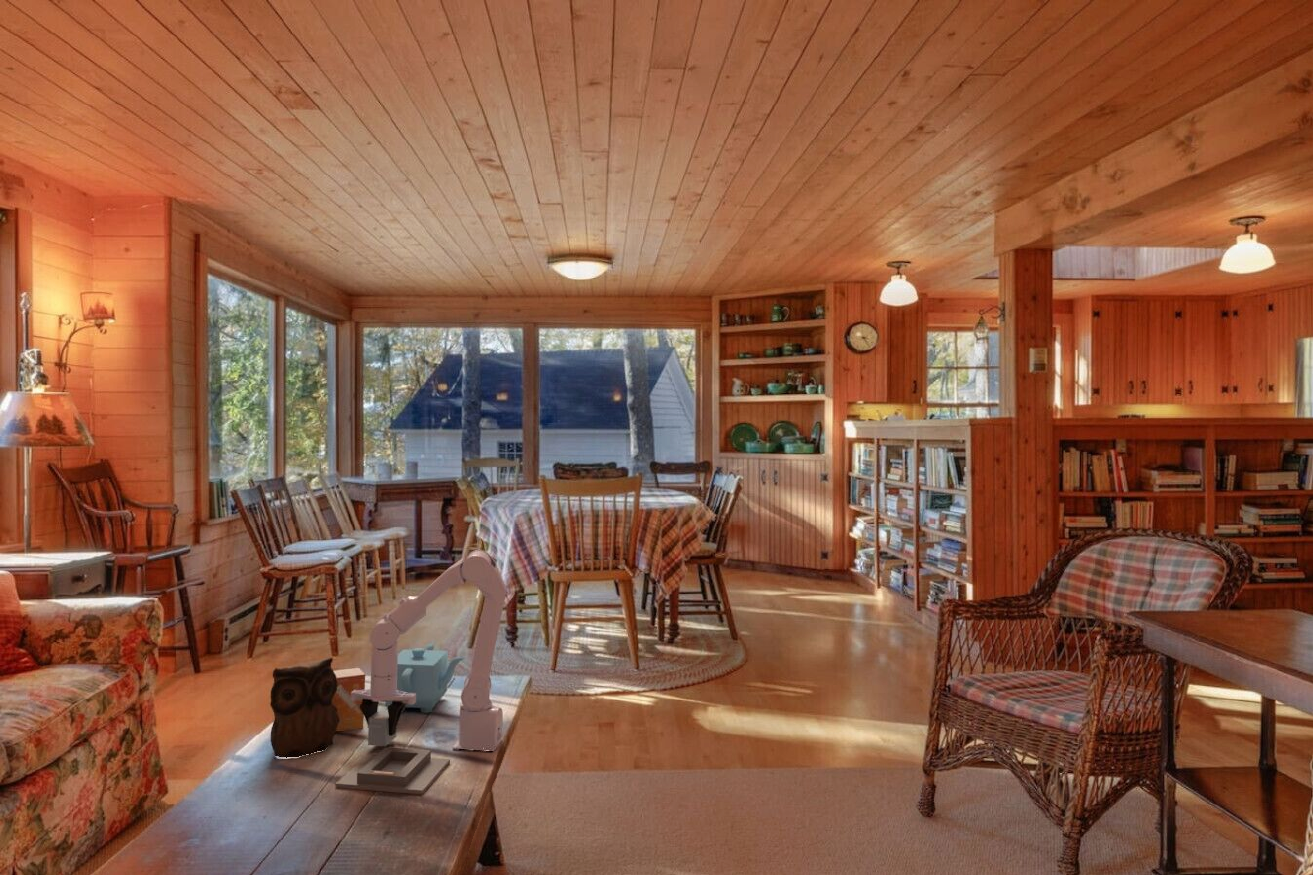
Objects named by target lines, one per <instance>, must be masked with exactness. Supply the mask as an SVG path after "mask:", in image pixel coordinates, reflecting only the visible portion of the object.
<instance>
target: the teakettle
mask: <svg viewBox="0 0 1313 875" xmlns="http://www.w3.org/2000/svg"><path fill="white" fill-rule="evenodd" d="M434 647H435V642H430V643H428V644H427V646H426V648H423V647H415V648H412V649H403V650H401V651H400V652H399V653H398V663H397V690H398V691H403V692H407V693H414V694H416V702H415V703H414V704H413V705H409V704H408V703H406V705H405V707H404V709H403V711H405V710H406V708H416V709H417V708H418V709H420V712H421V713H423V714H424V713H426V714H427V713H431V712H433V708H434V707H435V706H436V704H438V703H440V702H441V699H442V698H443V696H444V695H445V694H446V693H447V691H448V689H447V688H448V685H449V683H450V682H451V681H452V679H453V675H454V673H455V669H456V667H457V665H458V664H459V663H460V662H462V661H463V660H465V659H467V657H465V656H457V657H454V658H452V659H451V661H450V662H449V661H448V660H449V651H448V650H434ZM371 654H372V653H370V656H371ZM448 662H449V664H448ZM384 704H385V705H384V706H385V707H388V706H389V705H391V704H392V702H384Z"/></svg>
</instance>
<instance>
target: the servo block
mask: <svg viewBox="0 0 1313 875" xmlns="http://www.w3.org/2000/svg"><path fill="white" fill-rule="evenodd" d="M368 728H369V729H368ZM397 729H398V728H396V733H395V734H394V735H393V736H389V714H388V709H379V710H377V712H376V713H375V714H374V715H372V716H371V717H370V718H369V724H368V725H367V730H368V735H367V737H368V738H367V746H372V747H373V746H374V747H375V746H377V747H387V745H388V744H390V743H391V742H393V740H394V739H395V738H397Z"/></svg>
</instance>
